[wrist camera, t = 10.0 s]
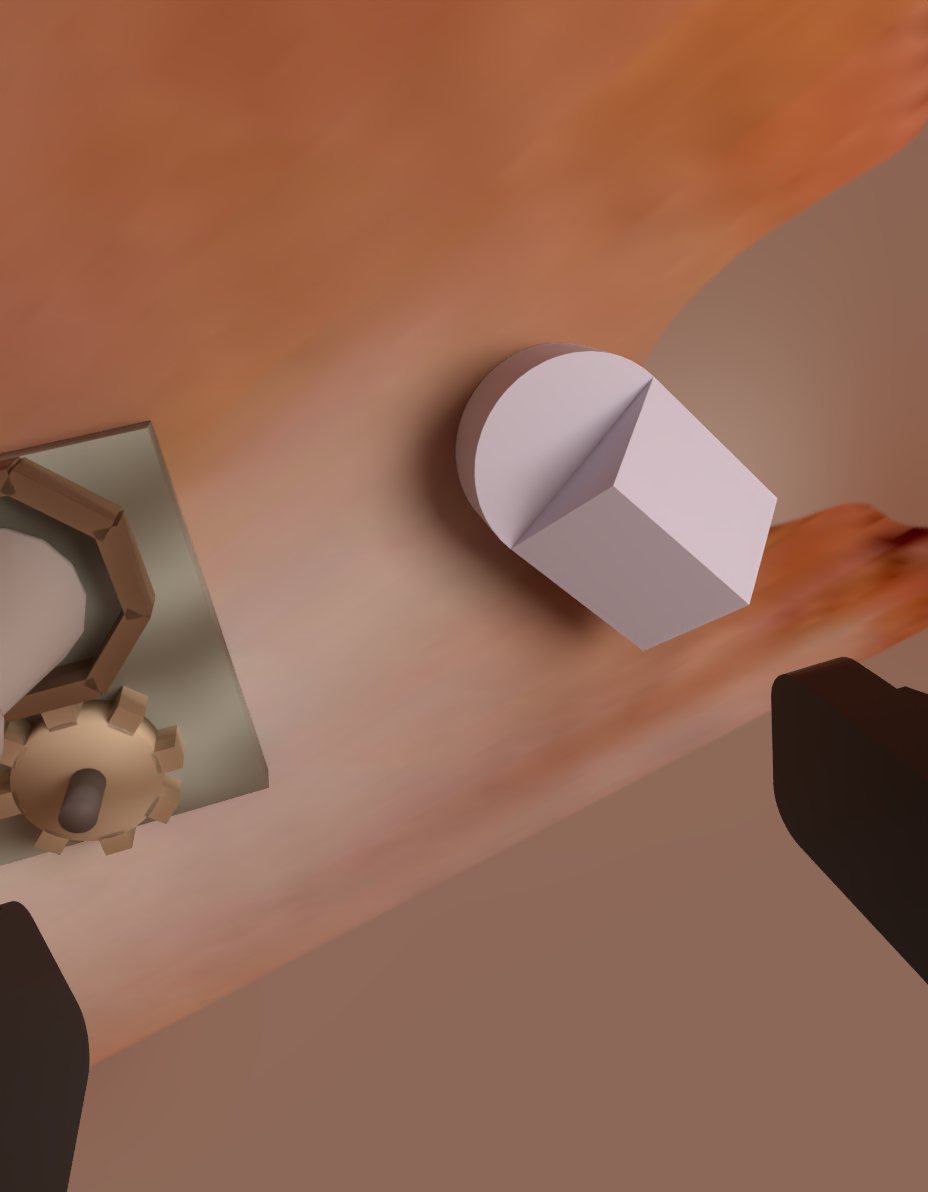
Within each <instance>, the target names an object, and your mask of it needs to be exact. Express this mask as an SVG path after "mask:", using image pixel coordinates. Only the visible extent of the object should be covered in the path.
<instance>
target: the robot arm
mask: <svg viewBox="0 0 928 1192" xmlns="http://www.w3.org/2000/svg"><path fill="white" fill-rule="evenodd" d="M771 707H772V744H773V745H772V746H773V785H774V794H775V799H776V803H777V806H778V809H779V812H780V815H781V817H782V820H783V822H784V824H785V825H786V828H787V829H788V831H789V833H790V834H791V836H792V837H793V838H794V840H795V841H796V843H797V844H798V845H799V846H800V847H801V848H802V849H803V850H804V851H805V853H807V854H808V856H809V857H810V858H811V859H812V860H813V861H814V862H815V863H816V864H817V865H818V867H820V869H821V870H822V871H823V872H824V873H825V874H826V875H827V876H828V877H829V878H830V879H831V881H832V882H833V883H834V884H835V885H836V886H837V887H838V888H839V889H840V890H841V891H842V892H843V893H844V895H845V896H846V897H847V898H848V899H849V900H850V901H851V902H852V903H853V904H854V905H855V906H856V907H857V909H858V910H859V911H860V912H862V914H863V915H864V916H865V917H866V918H867V919H868V920H869V921H870V923H871V924H872V925H873V926H874V927H875V928H876V929H877V930H878V931H879V932H880V933H881V934H882V935H883V936H884V937H885V939H886V940H887V941H888V942H889V943H890V944H891V945H892V946H893V947H894V948H895V949H896V951H897V952H898V953H899V954H900V955H901V956H902V957H903V958H904V959H905V960H906V961H907V962H908V963H909V964H910V966H911V967H912V968H913V969H914V970H915V971H916V972H917V973H918V974H919V975H920V976H921V977H922V978H923V980H924V981H925V982H926V983H927V984H928V694H926V693H923V692H920V691H917V690H914V689H911V688H908V687H902V688H898V689H896V688H895V687H893V686H892V685H891V684H889V683H887V682H886V681H885V680H883V679H882V678H880V677H879V676H877V675H876V674H874V673H873V672H871V671H870V670H868V669H867V668H865V667H864V666H862V665H861V664H859V663H858V662H856V661H855V660H853V659H850V658H847V657H840V658H836V659H833V660H829V661H826V662H823V663H819V664H816V665H812V666H809V667H806V668H802V669H799V670H796V671H792V672H789V673H786V674H782V675H780V676H778V677H777V678H776V679H775V681H774V683H773V686H772V691H771ZM88 1073H89V1043H88V1035H87V1030H86V1025H85V1021H84V1018H83V1015H82V1012H81V1009H80V1007H79V1005H78V1003H77V1001H76V999H75V997H74V995H73V993H72V992H71V990H70V988H69V986H68V984H67V982H66V980H65V978H64V976H63V975H62V973H61V971H60V969H59V967H58V965H57V963H56V961H55V959H54V958H53V956H52V954H51V952H50V950H49V948H48V946H47V944H46V942H45V940H44V939H43V937H42V935H41V933H40V931H39V929H38V927H37V925H36V923H35V922H34V920H33V918H32V916H31V914H30V913H29V911H28V910H27V909H26V908H25V907H24V906H23V905H22V904H21V903H19V902H16V901H11V902H8V903H5V904H1V905H0V1192H67V1188H68V1183H69V1177H70V1172H71V1166H72V1161H73V1155H74V1150H75V1144H76V1139H77V1134H78V1129H79V1123H80V1118H81V1112H82V1107H83V1101H84V1096H85V1091H86V1085H87V1080H88Z"/></svg>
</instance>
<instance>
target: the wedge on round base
mask: <svg viewBox="0 0 928 1192" xmlns="http://www.w3.org/2000/svg"><path fill="white" fill-rule="evenodd" d="M456 465H457V472H458V476H459V480H460V483H461V486H462V488H463V491H464V493H465V495H466V497H467V499H468V501H469V502H470V504H471V506H472V507H473V509H474V510H475V511H476V512H477V513H478V515H479V516H480V517H481V518H482V519H483V520H484V522H485V523H486V524H487V525H488V526H489V527H490V528H491V530H492V531H493V532H494V533H495V534H496V535H497V536H498V538H499V539H500V540H501V541H502V542H503V543H504V544H506V545H507V546H508V547H509V548H510V549H511V550H513V551H514V552H515V553H516V554H518V555H519V556H520V557H522V558H523V559H524V560H526V561H527V562H528V563H529V564H531V565H532V566H533V567H535V568H536V569H537V570H539V571H540V572H541V573H542V574H544V575H545V576H546V577H548V578H549V579H550V580H552V581H553V582H554V583H555V584H557V585H558V586H559V587H561V588H562V589H563V590H565V591H566V592H567V593H568V594H570V595H571V596H572V597H574V598H575V599H576V600H578V601H579V602H580V603H581V604H583V605H584V606H585V607H587V608H588V609H589V610H591V611H592V612H593V613H594V614H596V615H597V616H598V617H600V618H601V619H602V620H604V621H605V622H606V623H607V624H609V625H610V626H611V627H613V628H614V629H615V630H617V631H618V632H619V633H620V634H622V635H623V636H624V637H626V638H627V639H628V640H630V641H631V642H632V643H633V644H635V645H636V646H637V647H639V648H640V649H641V650H643V651H644V650H647V649H649V648H651V647H654V646H656V645H658V644H660V643H663V642H665V641H667V640H670V639H672V638H674V637H676V636H679V635H681V634H683V633H686V632H688V631H690V630H692V629H695V628H697V627H699V626H702V625H704V624H706V623H708V622H711V621H713V620H715V619H718V618H720V617H722V616H724V615H727V614H729V613H731V612H734V611H736V610H738V609H740V608H743V607H745V606H747V605H749V604H750V600H751V596H752V593H753V589H754V585H755V581H756V577H757V574H758V570H759V566H760V562H761V559H762V555H763V551H764V547H765V543H766V540H767V536H768V532H769V528H770V525H771V521H772V517H773V513H774V510H775V506H776V502H777V498H776V497H775V496H774V495H773V494H772V493H771V492H770V491H769V490H768V489H767V488H766V487H765V486H764V485H763V484H762V483H761V482H760V481H759V480H758V479H757V478H756V477H755V476H754V475H753V474H752V473H751V472H750V471H749V470H748V469H747V468H746V467H745V466H744V465H742V463H741V462H740V461H739V460H738V459H737V458H736V457H734V455H733V454H732V453H731V452H730V451H729V450H728V449H727V448H726V447H724V445H723V444H721V442H719V441H718V440H717V439H716V438H715V437H714V436H713V435H712V434H711V433H710V432H709V431H708V430H707V429H706V428H705V427H704V426H703V425H702V424H701V423H700V422H699V421H698V420H697V419H696V418H695V417H694V416H693V415H692V414H691V413H690V412H689V411H688V410H687V409H686V408H685V407H684V406H683V405H682V404H681V403H680V402H679V401H678V400H677V399H676V398H675V397H674V396H673V395H672V394H671V393H670V392H669V391H668V390H667V389H666V388H665V387H664V386H663V385H661V383H660V382H658V381H657V380H656V378H654V377H653V376H652V375H651V374H650V373H649V372H648V371H646V370H645V369H644V368H643V367H641V366H639V365H638V364H636V363H634V362H633V361H631V360H628V359H626V358H624V357H621V356H619V355H615V354H612V353H609V352H605V351H602V350H598V349H595V348H592V347H588V346H584V345H580V344H576V343H565V342H556V343H545V344H541V345H537V346H533V347H530V348H527V349H525V350H522V351H520V352H518V353H516V354H514V355H512V356H510V357H509V358H507V359H506V360H504V361H503V362H502V363H500V364H499V365H498V366H496V367H495V368H494V369H493V370H492V371H491V372H490V373H489V374H488V375H487V376H486V377H485V378H484V379H483V380H482V381H481V383H480V384H479V385H478V387H477V388H476V389H475V391H474V392H473V394H472V396H471V397H470V399H469V401H468V403H467V405H466V407H465V410H464V412H463V414H462V417H461V421H460V424H459V428H458V433H457V439H456Z"/></svg>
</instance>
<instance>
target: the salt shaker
mask: <svg viewBox="0 0 928 1192" xmlns="http://www.w3.org/2000/svg"><path fill="white" fill-rule="evenodd" d="M85 605H86V592H85V590H84V588H83V585H82V583H81V581H80V579H79V577H78V575H77V572H76V570H75V568H74V566H73V564H72V563H71V562H70V561H69V560H68V559H67V558H66V557H65V556H64V555H62V554H60V553H59V552H58V551H57V550H56V549H55V548H53V547H52V546H51V545H50V544H49V543H47V542H46V541H45V540H43V539H40V538H37V537H34V536H31V535H28V534H25V533H22V532H20V531H17V530H14V529H10V528H7V527H5V528H0V758H1V755H2V752H3V748H4V715H5V714H6V713H7V712H8V711H9V710H10V709H11V708H12V707H13V706H14V705H15V704H16V703H17V702H18V701H20V700H21V699H22V698H23V697H24V696H25V695H26V694H27V693H28V692H29V691H30V690H31V689H32V688H33V687H34V686H36V685H37V684H38V683H39V682H40V681H41V680H42V679H43V678H44V677H45V676H46V675H47V674H48V673H49V672H50V671H51V670H53V669H54V668H55V667H56V666H57V665H58V664H59V663H60V662H61V661H62V660H63V659H64V658H65V657H66V656H67V654H68V653H69V652H70V650H71V649H72V647H73V646H74V644H75V643H76V642H77V640H78V639H79V637H80V636H81V634H82V633H83V632H84V619H85Z"/></svg>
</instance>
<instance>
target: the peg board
mask: <svg viewBox="0 0 928 1192" xmlns="http://www.w3.org/2000/svg"><path fill="white" fill-rule="evenodd" d="M5 527H7V528H10V529H14V530H17V531H20V532H22V533H25V534H28V535H31V536H34V537H37V538H40V539H43V540H45V541H46V542H47V543H49V544H50V545H51V546H52V547H53V548H55V549H56V550H57V551H58V552H59V553H60V554H62V555H64V556H65V557H66V558H67V559H68V560H69V561H70V562H71V563H72V564H73V566H74V568H75V570H76V572H77V575H78V577H79V579H80V581H81V583H82V585H83V588H84V590H85V592H86V605H85V619H84V632H83V633H82V634H81V636H80V637H79V639H78V640H77V642H76V643H75V644H74V646H73V647H72V649H71V650H70V652H69V653H68V654H67V656H66V657H65V658H64V659H63V660H62V661H61V662H60V663H59V664H58V665H57V666H56V667H55V668H54V669H53V670H51V671H50V672H49V673H48V674H47V675H46V676H45V677H44V678H43V679H42V680H41V681H40V682H39V683H38V684H37V685H36V686H34V687H33V688H32V689H31V690H30V691H29V692H28V693H27V694H26V695H25V696H24V697H23V698H22V699H21V700H20V701H18V702H17V703H16V704H15V705H14V706H13V707H12V708H11V709H10V710H9V711H8V712H7V713H6V714H5V715H4V748H3V752H2V755H1V758H0V866H1V865H4V864H8V863H11V862H15V861H18V860H22V859H25V858H29V857H32V856H35V855H39V854H42V853H46V852H49V851H50V852H53V853H56V854H59V855H60V854H61V852H62V851H63V849H64V847H66V846H70V845H73V844H77V843H80V842H84V841H95V840H99V841H100V843H101V846H102V848H103V850H104V852H105V854H106V855H109V854H113V853H116V852H120V851H123V850H126V849H130V848H132V846H133V840H134V835H135V829H136V826H139V825H142V824H146V823H149V822H152V821H156V820H157V821H160V822H163V823H165V824H166V823H167V822H168V820H169V819H170V817H171V816H173V815H176V814H180V813H183V812H187V811H190V810H194V809H197V808H201V807H204V806H207V805H211V804H214V803H218V802H221V801H225V800H228V799H232V798H235V797H238V796H242V795H245V794H249V793H252V792H256V791H259V790H262V789H266V788H269V779H268V768H267V765H266V762H265V759H264V756H263V753H262V750H261V747H260V744H259V741H258V738H257V735H256V732H255V729H254V726H253V723H252V720H251V717H250V714H249V711H248V708H247V705H246V702H245V699H244V697H243V694H242V691H241V688H240V685H239V682H238V679H237V676H236V673H235V670H234V667H233V664H232V661H231V658H230V655H229V652H228V649H227V646H226V643H225V640H224V637H223V634H222V631H221V628H220V625H219V622H218V619H217V616H216V613H215V610H214V607H213V604H212V601H211V598H210V595H209V592H208V589H207V586H206V583H205V580H204V577H203V574H202V571H201V568H200V565H199V563H198V560H197V557H196V554H195V551H194V548H193V545H192V542H191V539H190V536H189V533H188V530H187V527H186V524H185V521H184V518H183V515H182V512H181V509H180V506H179V503H178V500H177V497H176V494H175V491H174V488H173V485H172V482H171V479H170V476H169V473H168V470H167V467H166V464H165V461H164V458H163V455H162V452H161V449H160V446H159V443H158V440H157V437H156V434H155V431H154V429H153V426H152V423H151V421H147V422H142V423H138V424H133V425H129V426H124V427H120V428H115V429H111V430H106V431H102V432H97V433H93V434H88V435H84V436H79V437H75V438H70V439H66V440H61V441H57V442H52V443H48V444H43V445H39V446H34V447H30V448H25V449H21V450H16V451H12V452H7V453H3V454H0V528H5Z"/></svg>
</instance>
